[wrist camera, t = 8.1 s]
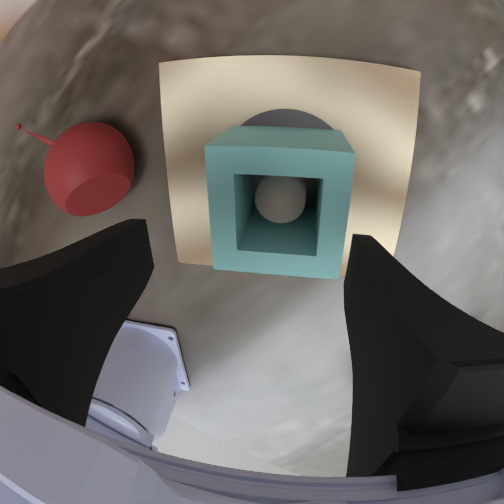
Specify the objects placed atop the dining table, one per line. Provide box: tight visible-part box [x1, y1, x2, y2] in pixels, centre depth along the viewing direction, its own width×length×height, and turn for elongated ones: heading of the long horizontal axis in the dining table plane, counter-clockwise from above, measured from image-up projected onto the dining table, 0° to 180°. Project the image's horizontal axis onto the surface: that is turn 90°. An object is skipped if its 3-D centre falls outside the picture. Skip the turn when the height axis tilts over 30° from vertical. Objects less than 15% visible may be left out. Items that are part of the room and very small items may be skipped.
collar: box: [205, 126, 355, 279], centre depth 15 cm, size 6×6×5 cm
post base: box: [159, 55, 421, 276], centre depth 16 cm, size 13×14×6 cm
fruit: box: [15, 122, 135, 216], centre depth 17 cm, size 6×6×8 cm
